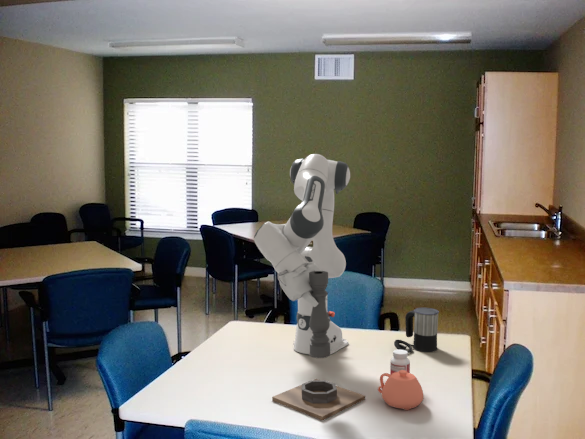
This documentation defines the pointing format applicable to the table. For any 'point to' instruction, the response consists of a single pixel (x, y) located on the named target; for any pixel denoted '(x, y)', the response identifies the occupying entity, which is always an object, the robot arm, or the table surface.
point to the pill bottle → (399, 361)
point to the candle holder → (319, 315)
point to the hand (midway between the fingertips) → (321, 303)
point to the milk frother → (421, 330)
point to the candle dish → (318, 408)
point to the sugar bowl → (401, 390)
